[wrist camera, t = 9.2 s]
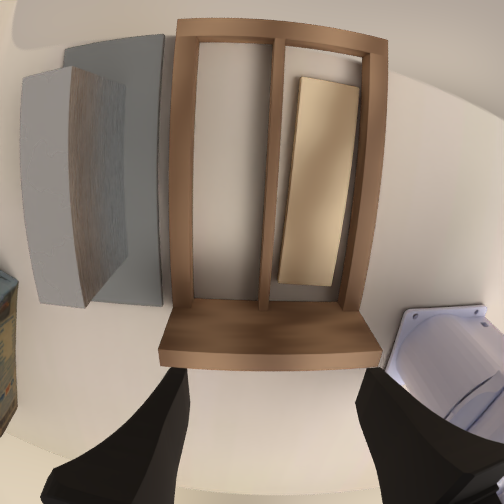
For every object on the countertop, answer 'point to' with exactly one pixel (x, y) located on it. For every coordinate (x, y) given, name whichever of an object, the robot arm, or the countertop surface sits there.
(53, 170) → the shiny grey metal block
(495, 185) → the countertop surface
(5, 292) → the beverage carton
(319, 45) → the rack
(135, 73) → the mat
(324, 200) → the offcut top
